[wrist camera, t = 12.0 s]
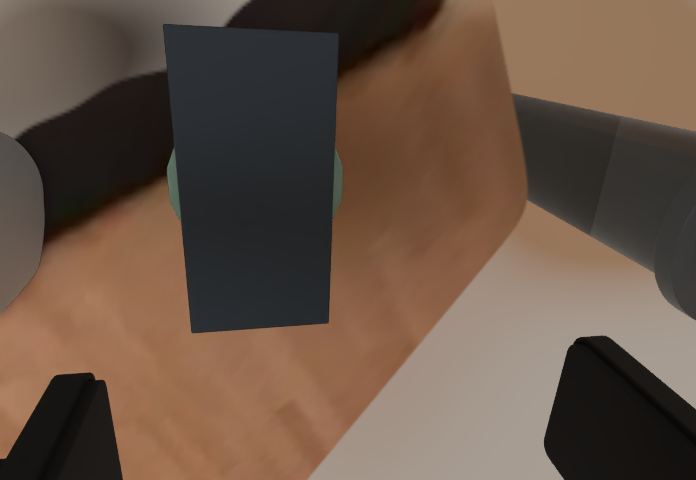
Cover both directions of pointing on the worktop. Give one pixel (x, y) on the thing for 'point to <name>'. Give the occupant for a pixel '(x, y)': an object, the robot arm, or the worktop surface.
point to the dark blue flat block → (254, 172)
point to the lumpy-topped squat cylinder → (19, 219)
